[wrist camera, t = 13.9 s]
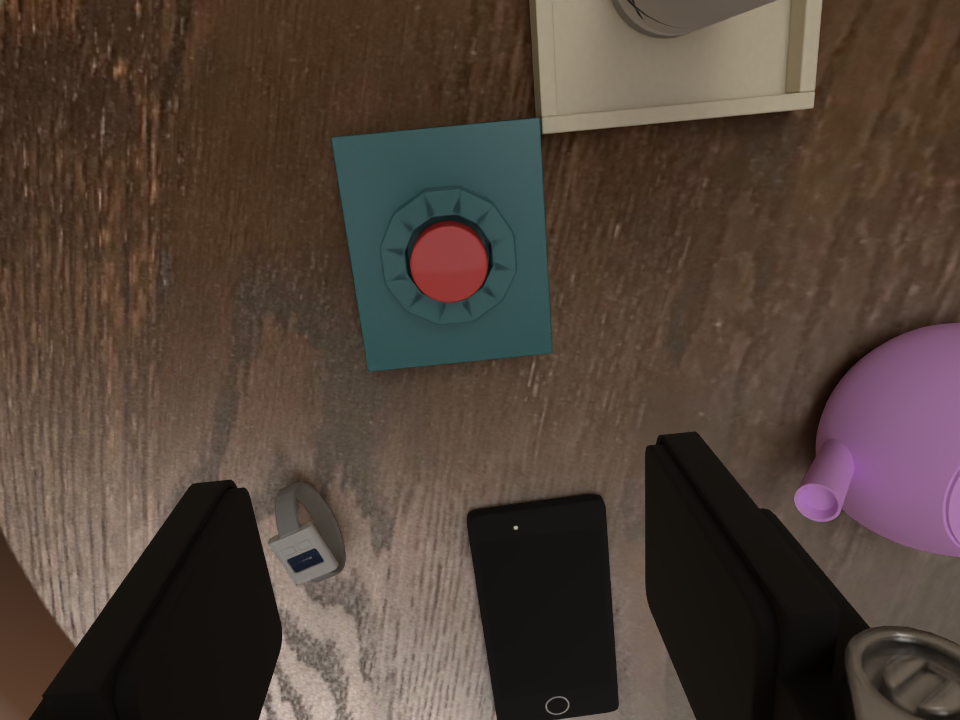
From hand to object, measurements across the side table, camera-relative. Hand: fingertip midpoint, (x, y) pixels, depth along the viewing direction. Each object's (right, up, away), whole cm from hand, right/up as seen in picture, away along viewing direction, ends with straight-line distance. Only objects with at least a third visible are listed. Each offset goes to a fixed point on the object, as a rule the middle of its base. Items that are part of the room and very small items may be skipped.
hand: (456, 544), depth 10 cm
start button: (-1, +8, +22) cm, 23 cm away
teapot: (+27, -1, +31) cm, 41 cm away
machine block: (-1, +9, +26) cm, 28 cm away
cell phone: (+5, -14, +35) cm, 38 cm away
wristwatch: (-10, -6, +31) cm, 34 cm away
